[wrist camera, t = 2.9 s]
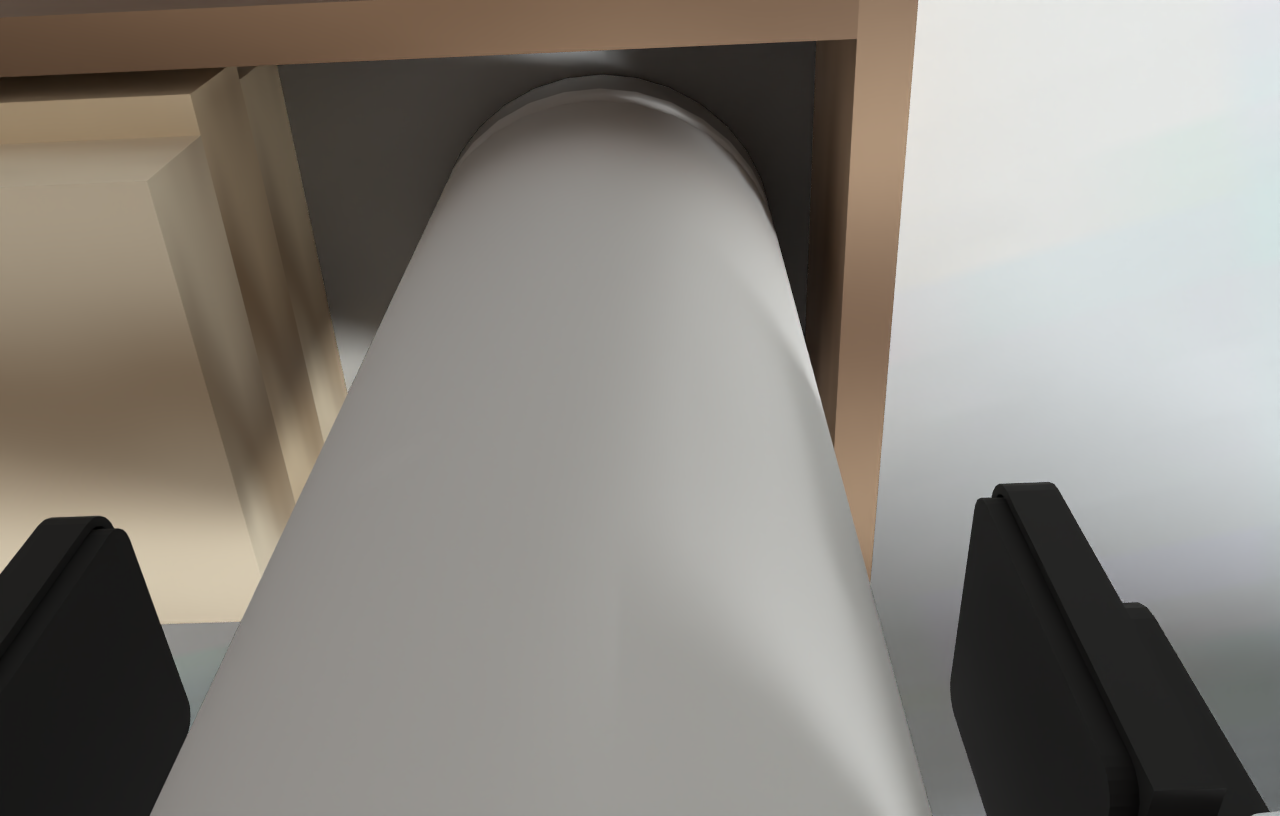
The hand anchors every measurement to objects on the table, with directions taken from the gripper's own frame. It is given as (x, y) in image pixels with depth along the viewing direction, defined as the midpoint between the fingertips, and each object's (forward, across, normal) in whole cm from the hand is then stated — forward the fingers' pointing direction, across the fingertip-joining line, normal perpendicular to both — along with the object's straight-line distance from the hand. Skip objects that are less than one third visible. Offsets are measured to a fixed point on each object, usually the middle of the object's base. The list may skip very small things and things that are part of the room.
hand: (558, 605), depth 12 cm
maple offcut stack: (+11, +8, 0) cm, 13 cm away
